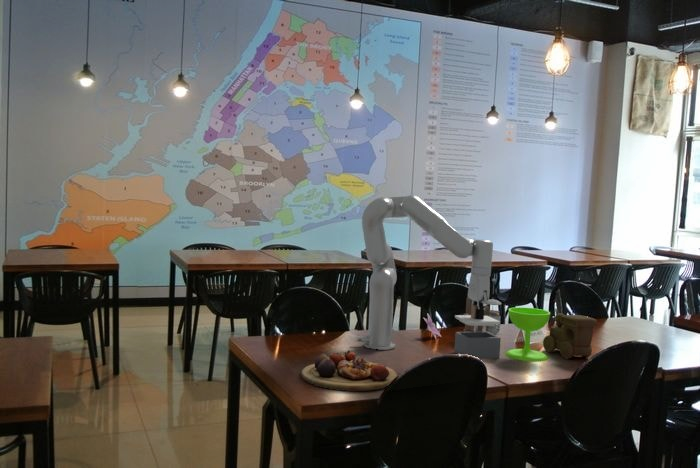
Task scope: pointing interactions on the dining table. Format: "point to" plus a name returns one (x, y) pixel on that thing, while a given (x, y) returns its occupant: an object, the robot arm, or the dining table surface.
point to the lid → (472, 321)
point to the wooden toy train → (571, 336)
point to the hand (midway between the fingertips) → (477, 317)
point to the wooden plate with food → (347, 373)
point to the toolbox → (478, 344)
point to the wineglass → (528, 331)
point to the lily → (431, 327)
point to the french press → (494, 315)
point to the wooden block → (468, 311)
